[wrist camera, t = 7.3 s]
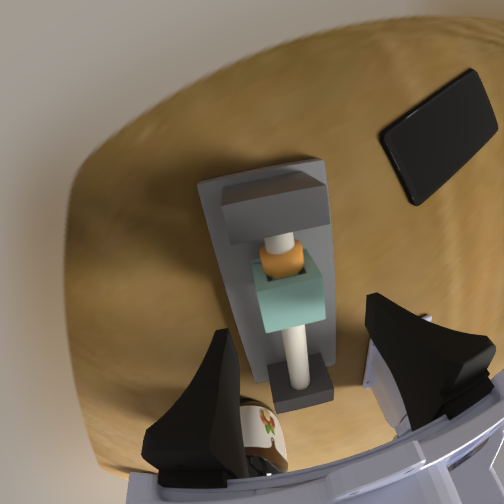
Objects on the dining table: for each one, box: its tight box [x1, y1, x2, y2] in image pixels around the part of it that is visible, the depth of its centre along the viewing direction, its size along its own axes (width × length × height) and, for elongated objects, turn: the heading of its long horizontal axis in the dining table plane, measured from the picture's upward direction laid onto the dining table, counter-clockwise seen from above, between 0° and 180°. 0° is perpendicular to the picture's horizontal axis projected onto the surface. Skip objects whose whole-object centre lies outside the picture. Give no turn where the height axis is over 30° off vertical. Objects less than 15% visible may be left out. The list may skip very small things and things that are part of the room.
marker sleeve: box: [251, 248, 326, 333], centre depth 16 cm, size 3×4×4 cm
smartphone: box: [380, 69, 498, 206], centre depth 16 cm, size 7×1×15 cm
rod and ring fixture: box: [197, 158, 336, 414], centre depth 19 cm, size 19×8×6 cm, turn 11°
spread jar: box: [240, 400, 288, 478], centre depth 23 cm, size 12×11×12 cm
